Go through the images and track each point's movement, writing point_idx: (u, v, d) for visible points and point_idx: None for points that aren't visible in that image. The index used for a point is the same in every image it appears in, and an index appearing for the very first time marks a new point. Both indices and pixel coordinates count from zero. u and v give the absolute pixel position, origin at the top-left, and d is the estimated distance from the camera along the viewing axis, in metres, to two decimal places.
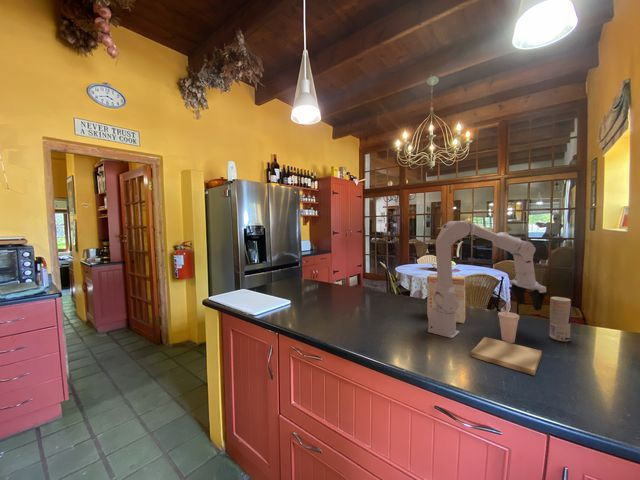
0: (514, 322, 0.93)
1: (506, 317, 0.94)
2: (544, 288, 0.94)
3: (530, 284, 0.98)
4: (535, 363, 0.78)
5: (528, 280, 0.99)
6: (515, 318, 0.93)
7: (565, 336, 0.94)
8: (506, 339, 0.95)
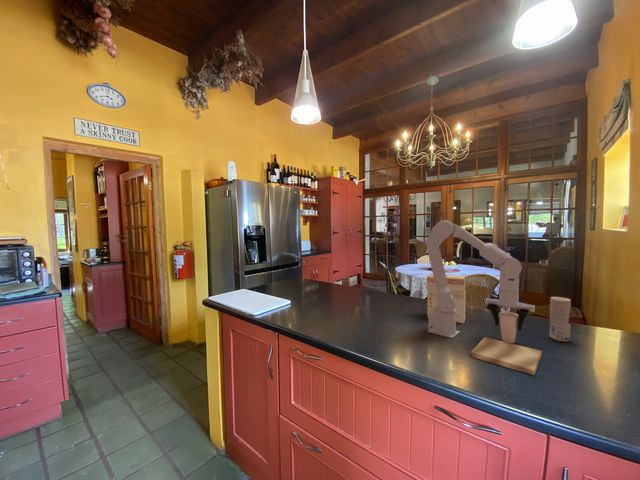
0: (514, 322, 0.93)
1: (506, 317, 0.94)
2: (534, 307, 0.91)
3: (517, 303, 0.93)
4: (535, 363, 0.78)
5: (516, 298, 0.93)
6: (515, 318, 0.93)
7: (565, 336, 0.94)
8: (506, 339, 0.95)
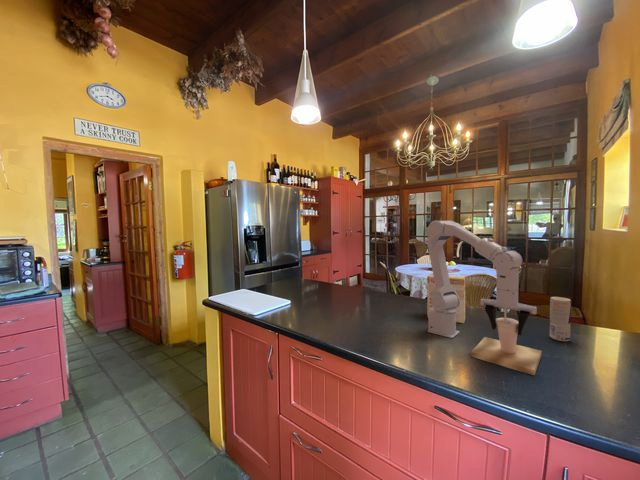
0: (514, 330, 0.83)
1: (505, 325, 0.83)
2: (536, 308, 0.80)
3: (517, 304, 0.82)
4: (535, 363, 0.78)
5: (516, 299, 0.82)
6: (515, 325, 0.82)
7: (565, 336, 0.94)
8: (506, 349, 0.84)
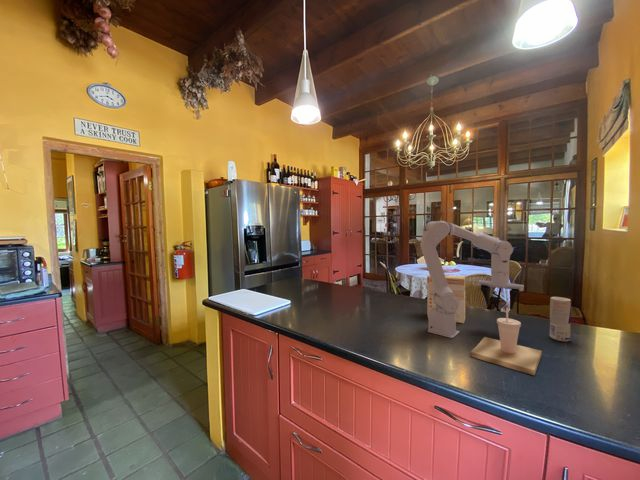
0: (515, 330, 0.83)
1: (506, 324, 0.83)
2: (523, 286, 0.98)
3: (508, 283, 1.00)
4: (535, 363, 0.78)
5: (507, 279, 1.00)
6: (516, 326, 0.82)
7: (565, 336, 0.94)
8: (506, 349, 0.84)
